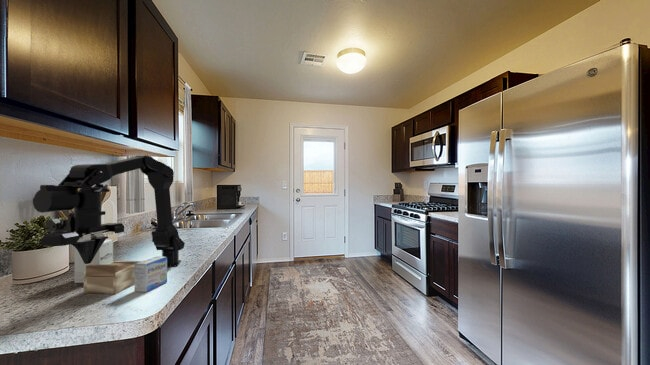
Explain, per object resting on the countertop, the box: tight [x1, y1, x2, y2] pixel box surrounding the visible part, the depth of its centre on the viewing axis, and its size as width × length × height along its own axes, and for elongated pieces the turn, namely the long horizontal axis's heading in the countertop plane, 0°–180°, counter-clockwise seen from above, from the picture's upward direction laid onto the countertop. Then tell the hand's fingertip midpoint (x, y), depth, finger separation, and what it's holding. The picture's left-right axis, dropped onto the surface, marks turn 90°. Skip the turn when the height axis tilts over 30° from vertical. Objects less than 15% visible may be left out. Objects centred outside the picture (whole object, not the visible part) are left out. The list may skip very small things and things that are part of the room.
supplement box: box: [74, 239, 114, 284], centre depth 86 cm, size 7×7×13 cm
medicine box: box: [134, 255, 168, 293], centre depth 79 cm, size 8×4×9 cm, turn 168°
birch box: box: [83, 260, 143, 295], centre depth 80 cm, size 11×10×6 cm
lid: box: [86, 263, 136, 276], centre depth 79 cm, size 10×9×3 cm
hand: (87, 263), depth 70 cm, fingers closed
